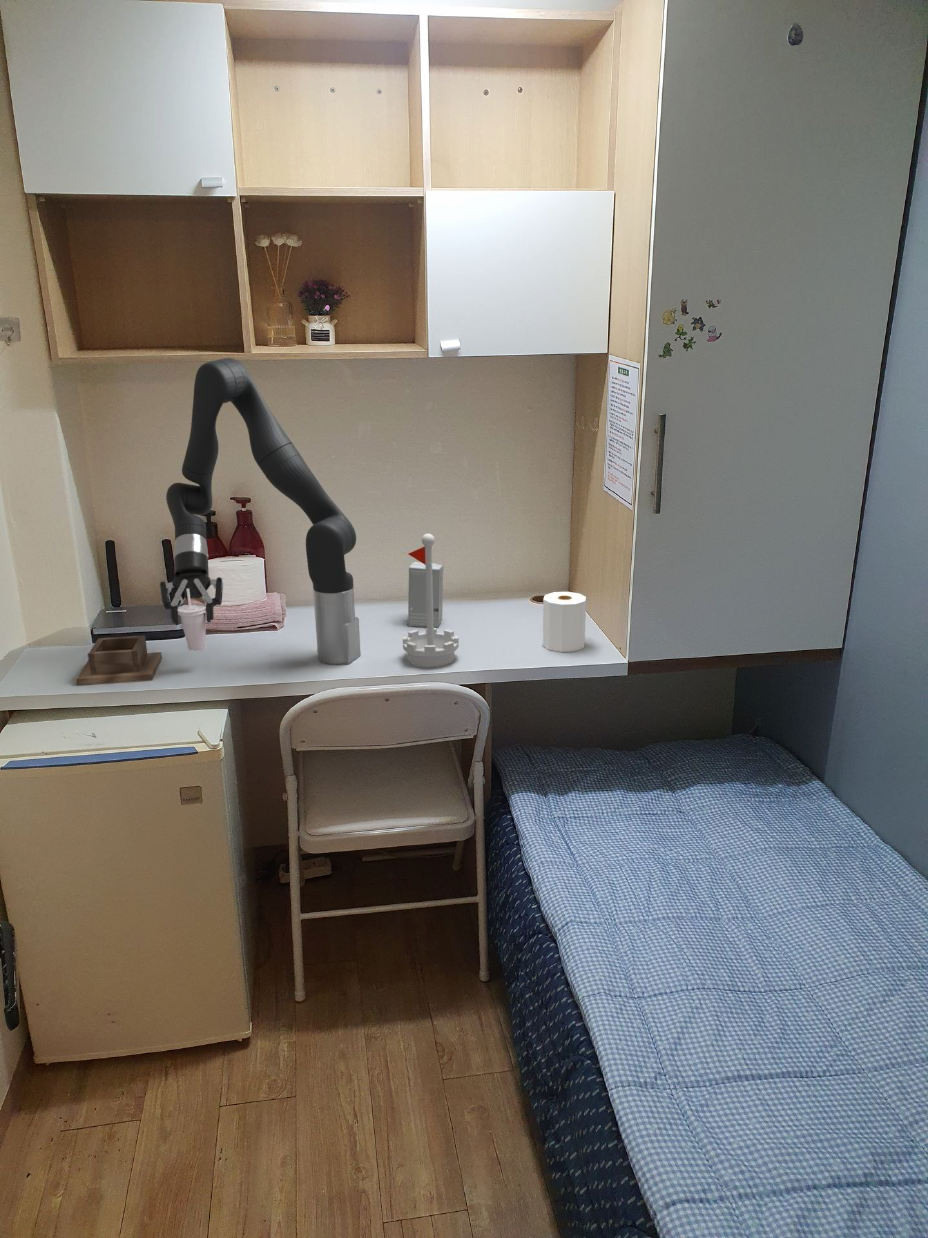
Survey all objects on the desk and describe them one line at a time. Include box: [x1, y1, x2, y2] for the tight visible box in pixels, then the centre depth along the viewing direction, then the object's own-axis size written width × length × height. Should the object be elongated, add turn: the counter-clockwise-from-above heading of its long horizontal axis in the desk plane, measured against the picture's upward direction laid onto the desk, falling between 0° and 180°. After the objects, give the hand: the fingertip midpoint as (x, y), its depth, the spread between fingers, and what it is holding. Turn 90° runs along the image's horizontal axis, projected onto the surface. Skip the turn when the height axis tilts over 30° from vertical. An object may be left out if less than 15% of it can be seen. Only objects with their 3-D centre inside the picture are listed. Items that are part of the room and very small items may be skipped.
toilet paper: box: [542, 591, 587, 653], centre depth 218 cm, size 10×10×12 cm
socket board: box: [75, 635, 163, 686], centre depth 206 cm, size 16×14×6 cm
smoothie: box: [177, 589, 207, 652], centre depth 204 cm, size 6×6×14 cm
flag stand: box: [402, 533, 460, 668], centre depth 208 cm, size 13×13×30 cm
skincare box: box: [407, 561, 444, 628], centre depth 234 cm, size 8×7×16 cm
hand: (192, 622), depth 203 cm, fingers closed on smoothie, 6 cm apart
